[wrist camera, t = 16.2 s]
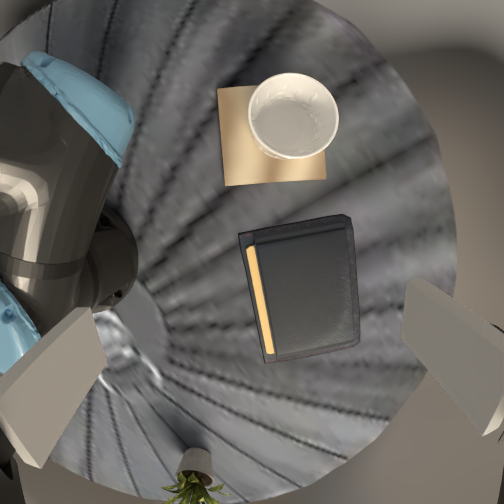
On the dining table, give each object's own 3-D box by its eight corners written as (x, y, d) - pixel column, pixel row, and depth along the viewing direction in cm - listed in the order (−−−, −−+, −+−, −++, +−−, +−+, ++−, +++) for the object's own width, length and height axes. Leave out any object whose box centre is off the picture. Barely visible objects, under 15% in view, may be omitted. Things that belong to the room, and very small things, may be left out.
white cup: (237, 112, 33) (234, 88, 23) (299, 92, 32) (318, 63, 22) (261, 173, 34) (267, 171, 25) (323, 152, 34) (351, 143, 24)
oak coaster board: (226, 185, 36) (225, 186, 35) (218, 92, 33) (217, 88, 32) (323, 178, 36) (326, 178, 35) (314, 87, 33) (316, 83, 32)
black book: (362, 349, 41) (260, 369, 41) (358, 343, 43) (260, 362, 43) (358, 213, 36) (236, 231, 36) (352, 211, 38) (237, 228, 38)
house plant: (256, 456, 48) (260, 525, 32) (213, 481, 50) (209, 541, 34) (194, 424, 45) (181, 499, 29) (156, 453, 47) (139, 517, 31)
